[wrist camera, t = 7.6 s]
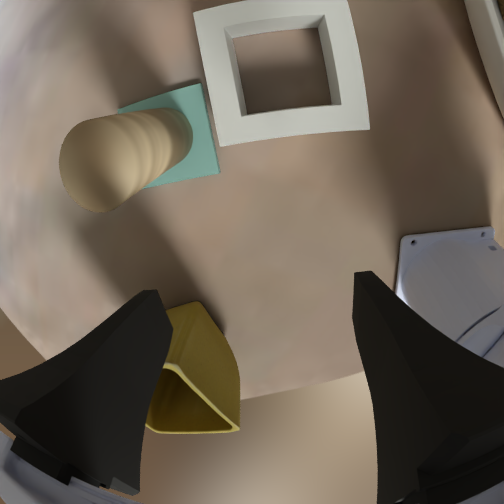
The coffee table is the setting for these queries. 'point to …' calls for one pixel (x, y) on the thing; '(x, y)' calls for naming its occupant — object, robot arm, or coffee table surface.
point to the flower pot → (196, 378)
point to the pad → (203, 147)
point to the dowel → (121, 155)
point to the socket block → (269, 20)
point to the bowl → (490, 41)
